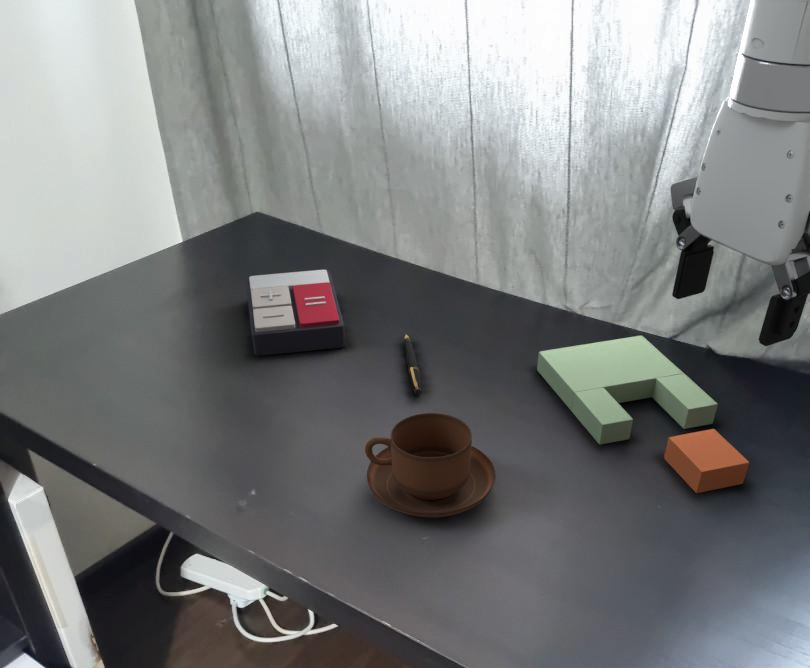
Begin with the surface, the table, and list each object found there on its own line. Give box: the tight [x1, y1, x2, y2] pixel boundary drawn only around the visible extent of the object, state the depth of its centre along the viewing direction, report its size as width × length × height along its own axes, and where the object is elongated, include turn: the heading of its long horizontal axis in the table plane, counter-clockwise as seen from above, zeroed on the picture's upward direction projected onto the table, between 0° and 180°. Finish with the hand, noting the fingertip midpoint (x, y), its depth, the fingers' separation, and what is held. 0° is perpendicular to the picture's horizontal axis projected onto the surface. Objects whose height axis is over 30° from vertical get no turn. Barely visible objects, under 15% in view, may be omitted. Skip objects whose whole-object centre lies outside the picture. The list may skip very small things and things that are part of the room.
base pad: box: [536, 334, 719, 445], centre depth 90 cm, size 13×16×2 cm
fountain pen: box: [403, 334, 422, 396], centre depth 96 cm, size 14×1×2 cm, turn 5°
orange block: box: [663, 428, 750, 494], centre depth 79 cm, size 5×6×2 cm
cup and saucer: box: [364, 412, 496, 519], centre depth 76 cm, size 12×12×6 cm
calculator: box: [245, 269, 346, 357], centre depth 104 cm, size 11×4×15 cm
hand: (729, 316), depth 68 cm, fingers open, 9 cm apart
